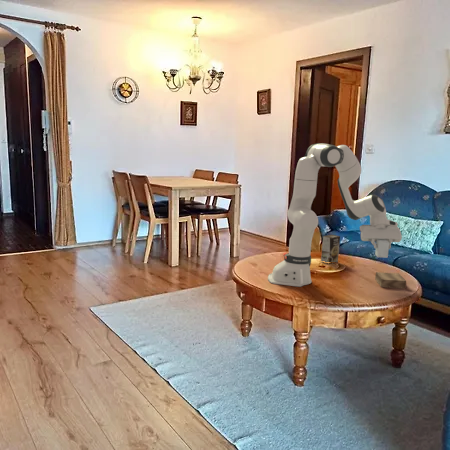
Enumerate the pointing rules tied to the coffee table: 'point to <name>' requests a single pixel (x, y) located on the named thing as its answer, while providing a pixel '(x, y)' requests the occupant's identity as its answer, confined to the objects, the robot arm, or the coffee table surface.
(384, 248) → the light grey block
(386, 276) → the walnut plinth
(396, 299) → the coffee table surface
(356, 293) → the coffee table surface
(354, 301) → the coffee table surface
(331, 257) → the coffee box
